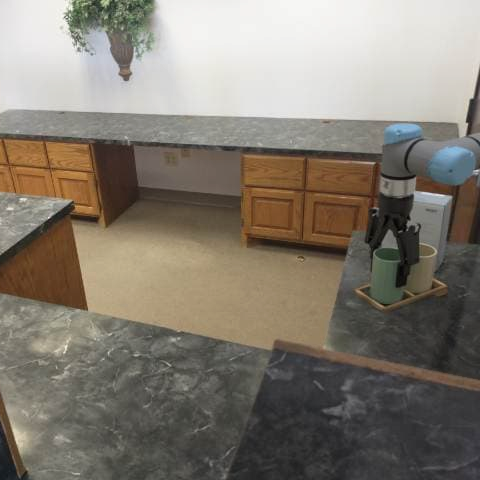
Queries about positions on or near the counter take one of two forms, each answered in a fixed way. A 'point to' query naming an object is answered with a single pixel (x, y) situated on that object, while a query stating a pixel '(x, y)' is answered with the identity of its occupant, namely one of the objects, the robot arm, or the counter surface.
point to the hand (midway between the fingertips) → (387, 278)
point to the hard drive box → (428, 222)
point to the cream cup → (422, 270)
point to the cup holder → (437, 290)
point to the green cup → (385, 276)
